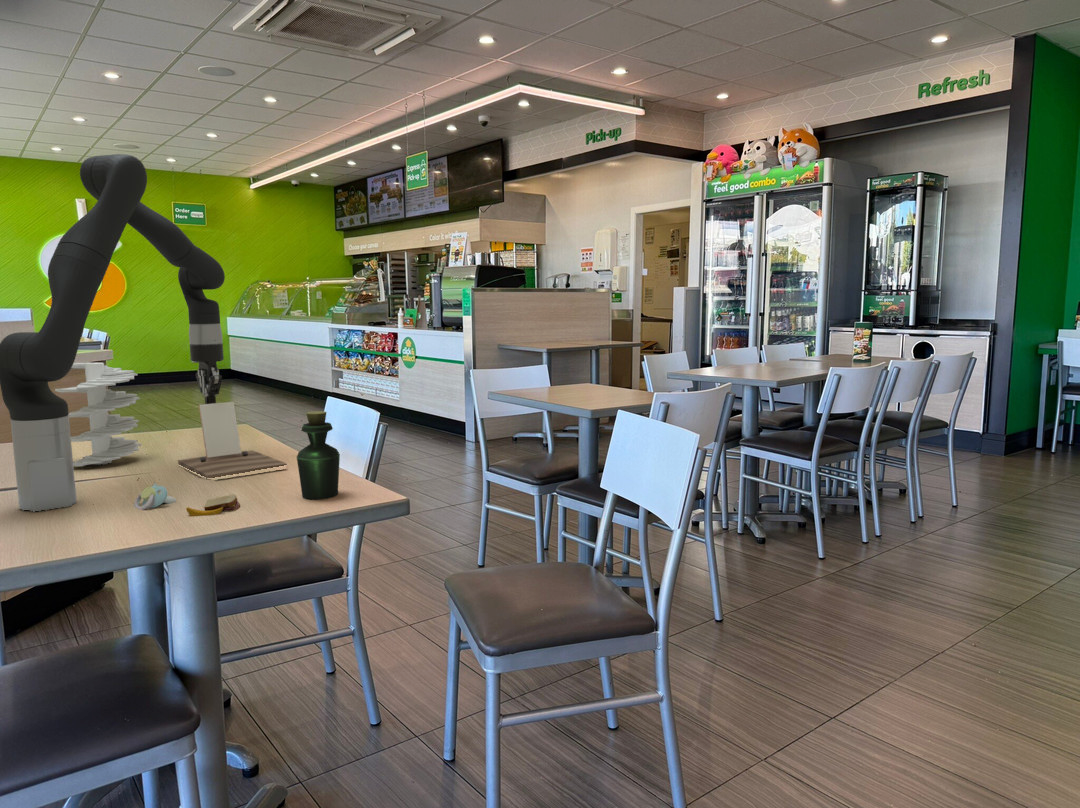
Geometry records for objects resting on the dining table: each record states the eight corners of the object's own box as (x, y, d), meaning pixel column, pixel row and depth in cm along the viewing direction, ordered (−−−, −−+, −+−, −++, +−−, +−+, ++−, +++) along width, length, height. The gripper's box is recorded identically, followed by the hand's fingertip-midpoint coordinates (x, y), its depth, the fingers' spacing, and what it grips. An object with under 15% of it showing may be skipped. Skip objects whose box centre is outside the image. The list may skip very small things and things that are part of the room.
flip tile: (240, 453, 184) (241, 453, 183) (206, 457, 178) (207, 457, 178) (232, 402, 184) (233, 401, 184) (198, 405, 179) (199, 404, 178)
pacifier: (126, 505, 140) (146, 478, 143) (154, 521, 144) (173, 494, 147) (141, 512, 136) (161, 484, 138) (169, 528, 140) (188, 500, 142)
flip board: (287, 469, 175) (286, 458, 175) (208, 482, 163) (207, 470, 163) (252, 455, 191) (251, 445, 191) (178, 466, 180) (177, 455, 179)
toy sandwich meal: (189, 512, 140) (188, 494, 140) (245, 509, 142) (244, 491, 142) (173, 527, 131) (172, 507, 131) (233, 523, 133) (232, 504, 132)
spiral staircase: (155, 461, 185) (147, 362, 181) (76, 474, 172) (66, 367, 168) (127, 452, 197) (120, 359, 193) (51, 463, 184) (42, 363, 180)
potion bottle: (320, 495, 151) (316, 408, 149) (350, 500, 148) (346, 411, 145) (290, 504, 144) (285, 413, 142) (320, 509, 140) (316, 416, 138)
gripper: (231, 342, 180) (235, 412, 183) (213, 340, 190) (217, 407, 193) (198, 343, 176) (203, 415, 178) (182, 341, 185) (187, 409, 188)
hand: (211, 411), depth 185 cm, fingers closed
